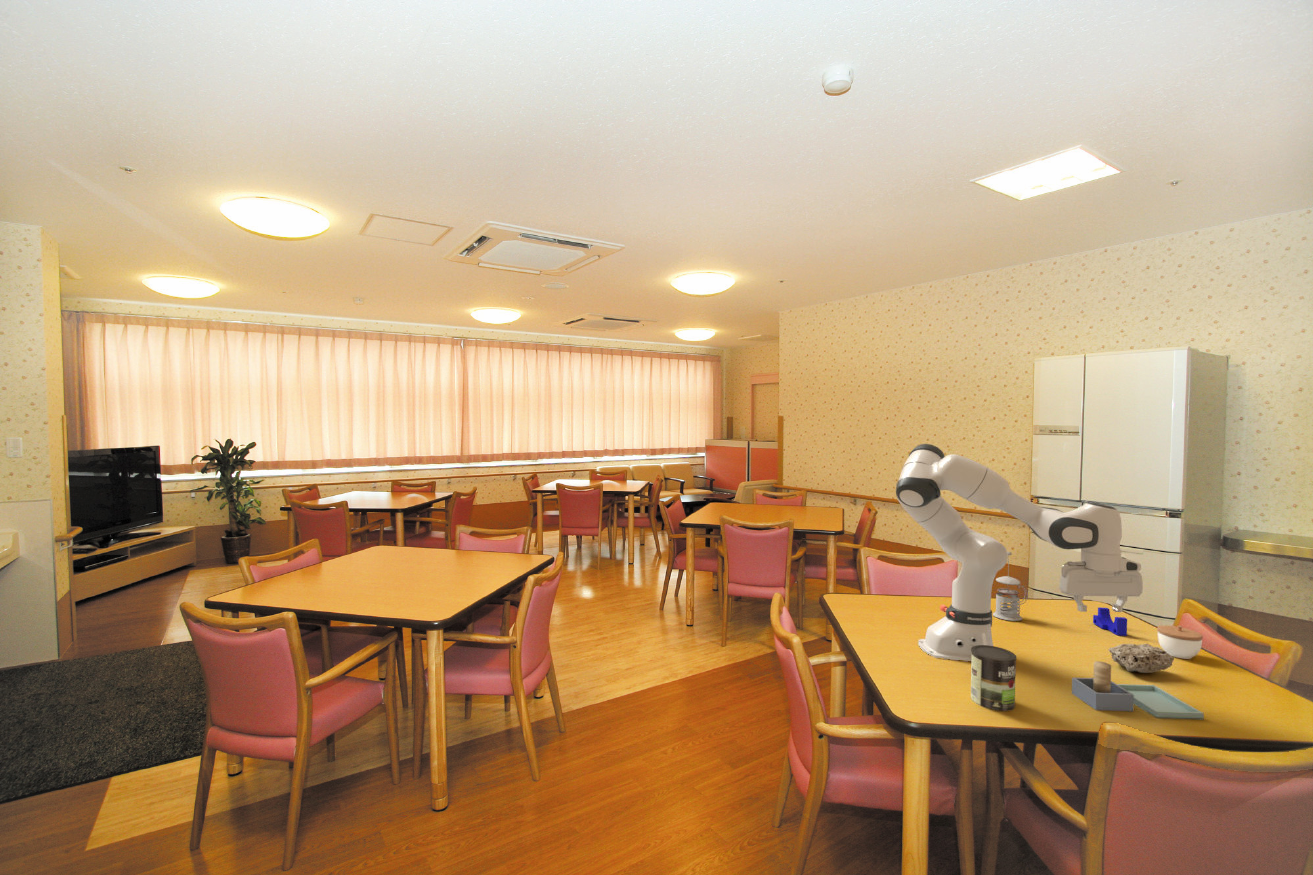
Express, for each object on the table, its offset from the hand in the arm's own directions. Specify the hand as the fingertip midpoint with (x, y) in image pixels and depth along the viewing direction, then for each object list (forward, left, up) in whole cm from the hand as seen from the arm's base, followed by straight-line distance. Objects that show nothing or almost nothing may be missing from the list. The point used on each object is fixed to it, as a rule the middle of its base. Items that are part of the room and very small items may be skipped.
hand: (1099, 611), depth 158 cm
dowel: (-5, -8, -21) cm, 23 cm away
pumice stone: (+21, +13, -23) cm, 33 cm away
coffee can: (-34, -10, -23) cm, 42 cm away
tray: (+9, -8, -22) cm, 25 cm away
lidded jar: (+43, +27, -23) cm, 56 cm away
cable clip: (+38, +50, -23) cm, 67 cm away
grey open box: (-5, -8, -22) cm, 24 cm away
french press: (+9, +61, -23) cm, 65 cm away
